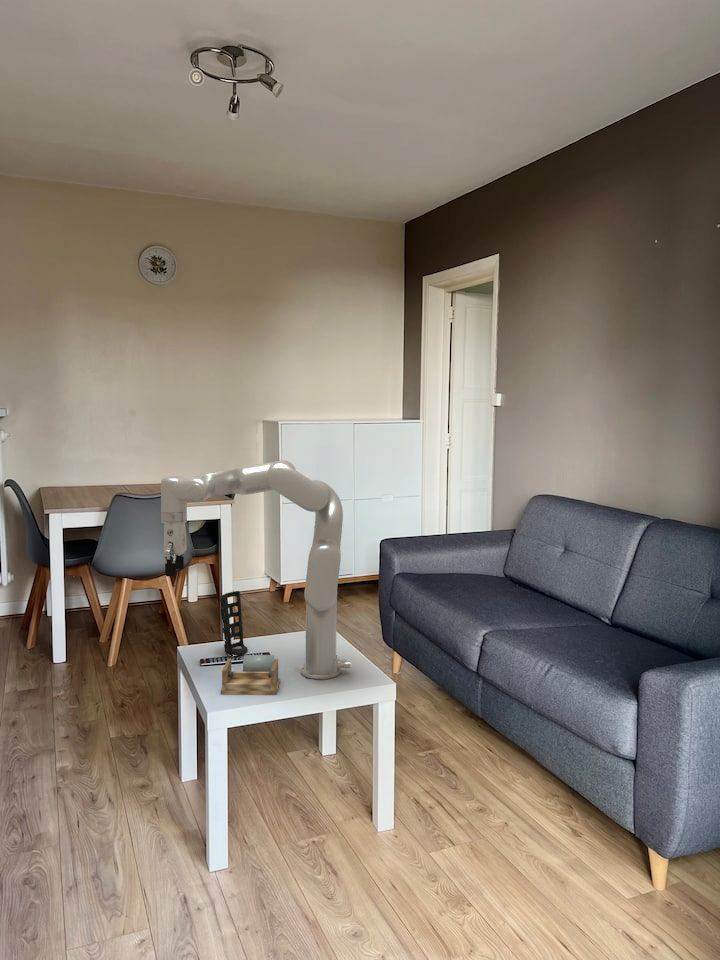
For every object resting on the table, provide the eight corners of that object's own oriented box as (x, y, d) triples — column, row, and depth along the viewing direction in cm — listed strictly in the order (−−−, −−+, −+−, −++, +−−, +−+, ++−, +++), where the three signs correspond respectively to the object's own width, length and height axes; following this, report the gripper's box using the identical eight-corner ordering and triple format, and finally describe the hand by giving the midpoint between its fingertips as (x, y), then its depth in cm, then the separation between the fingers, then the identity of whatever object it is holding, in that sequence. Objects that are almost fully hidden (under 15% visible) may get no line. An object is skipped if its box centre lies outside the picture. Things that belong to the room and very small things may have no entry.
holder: (243, 657, 237) (237, 597, 235) (220, 658, 238) (214, 599, 236) (250, 647, 248) (244, 589, 246) (228, 648, 248) (223, 591, 247)
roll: (275, 671, 226) (275, 652, 226) (273, 678, 220) (273, 659, 220) (244, 670, 226) (244, 652, 225) (242, 678, 220) (241, 659, 219)
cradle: (279, 681, 217) (279, 659, 217) (276, 694, 207) (276, 671, 207) (226, 681, 217) (226, 658, 216) (220, 694, 207) (220, 670, 206)
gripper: (179, 521, 212) (180, 579, 213) (192, 513, 229) (193, 566, 230) (154, 521, 211) (154, 579, 213) (168, 513, 229) (169, 566, 230)
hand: (174, 572), depth 222 cm, fingers open, 9 cm apart
